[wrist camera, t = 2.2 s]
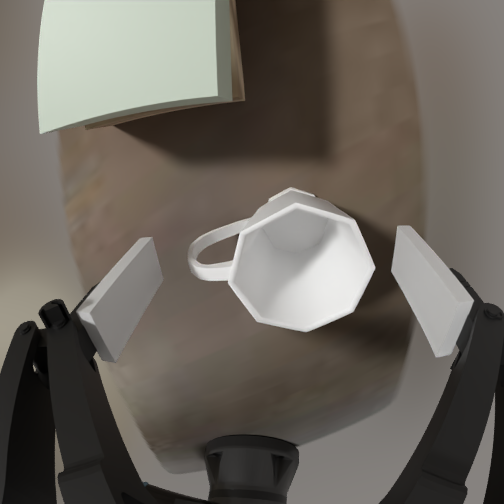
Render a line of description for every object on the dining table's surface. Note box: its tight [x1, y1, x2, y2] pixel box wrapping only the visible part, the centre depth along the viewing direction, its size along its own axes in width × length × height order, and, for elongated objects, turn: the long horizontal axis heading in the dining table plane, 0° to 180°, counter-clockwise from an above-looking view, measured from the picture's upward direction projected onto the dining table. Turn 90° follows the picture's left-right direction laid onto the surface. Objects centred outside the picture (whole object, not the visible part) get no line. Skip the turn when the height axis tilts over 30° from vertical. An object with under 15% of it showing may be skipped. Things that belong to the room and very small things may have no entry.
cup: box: [188, 187, 375, 332], centre depth 17 cm, size 7×10×8 cm
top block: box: [37, 0, 232, 134], centre depth 9 cm, size 13×10×4 cm
